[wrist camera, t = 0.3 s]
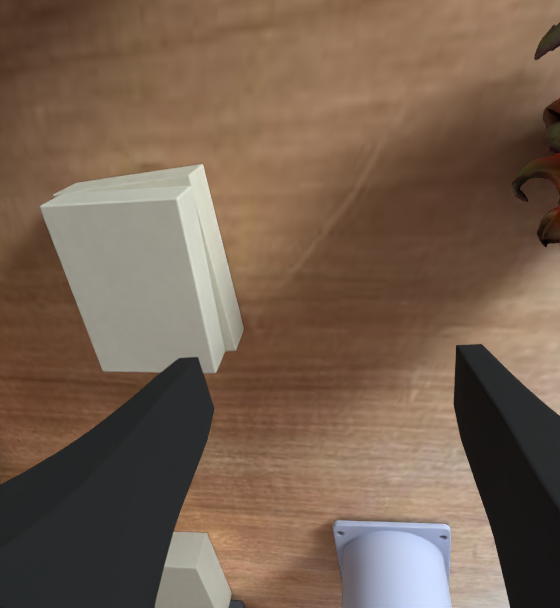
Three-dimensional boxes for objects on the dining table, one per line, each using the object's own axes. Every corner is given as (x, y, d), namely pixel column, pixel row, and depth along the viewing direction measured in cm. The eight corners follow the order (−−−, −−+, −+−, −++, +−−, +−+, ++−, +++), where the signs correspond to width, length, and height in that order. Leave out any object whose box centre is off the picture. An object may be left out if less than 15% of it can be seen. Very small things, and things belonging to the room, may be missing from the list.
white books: (245, 329, 24) (228, 373, 21) (137, 336, 25) (105, 378, 22) (203, 163, 19) (174, 186, 16) (75, 182, 21) (25, 207, 18)
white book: (232, 593, 39) (224, 628, 37) (175, 589, 40) (164, 623, 38) (207, 532, 35) (196, 568, 32) (144, 530, 36) (129, 564, 33)
